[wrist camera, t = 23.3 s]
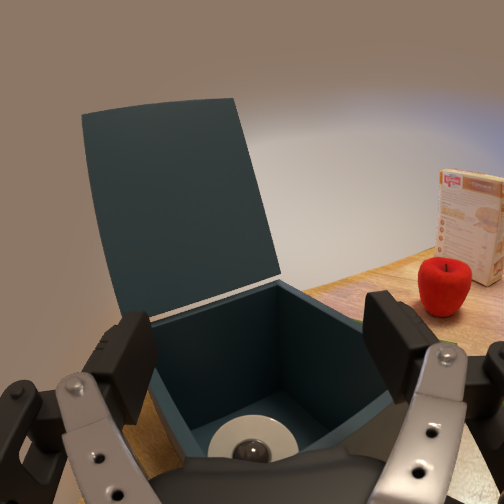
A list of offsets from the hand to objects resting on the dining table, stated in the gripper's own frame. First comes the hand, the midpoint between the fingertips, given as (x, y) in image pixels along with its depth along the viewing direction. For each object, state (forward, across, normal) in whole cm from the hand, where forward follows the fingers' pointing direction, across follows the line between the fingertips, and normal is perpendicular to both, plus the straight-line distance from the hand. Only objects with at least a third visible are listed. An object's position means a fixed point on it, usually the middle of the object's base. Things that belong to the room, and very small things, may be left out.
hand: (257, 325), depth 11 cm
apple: (+26, -28, +19) cm, 43 cm away
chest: (+6, 0, +19) cm, 20 cm away
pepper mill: (+5, 0, +17) cm, 18 cm away
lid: (+14, +5, -3) cm, 15 cm away
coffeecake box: (+38, -43, +19) cm, 60 cm away
